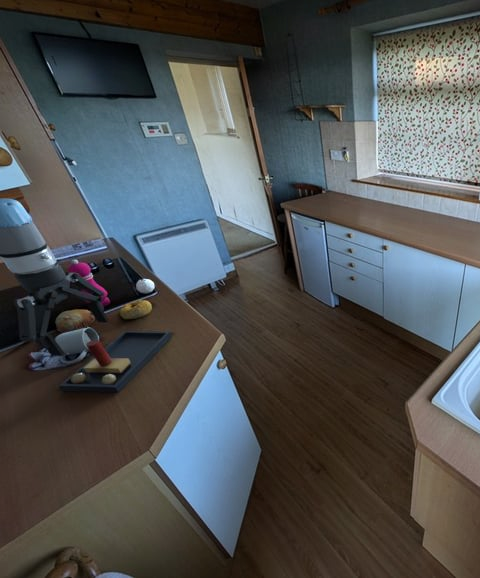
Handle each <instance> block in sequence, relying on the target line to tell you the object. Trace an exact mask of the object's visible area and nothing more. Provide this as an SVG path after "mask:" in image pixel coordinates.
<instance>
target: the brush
mask: <svg viewBox="0 0 480 578" xmlns="http://www.w3.org/2000/svg"><path fill="white" fill-rule="evenodd" d="M86 346H87V348H88V349H89V351H90V354H91V355H92V356H93V357H94V359H93V360H92V361H91V362H90V363H89V364H87V365H86V366H85V367H84V370H85V371H86V372H88V373H89V374H90V375H108V374H113V375H123V374H124V373H125V372H126V371H127V370H128V369H129V368H130V367H131V365H130V363H131V362H130V361H129V359H128V358H110V356H109V355H108V353H107V352H106V350H105V349H104V348H105V347H104V345H103V344H102V343H101V341H100V339H99V340H92V341H90V342H88V343H87V344H86Z"/></svg>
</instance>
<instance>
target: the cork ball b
mask: <svg viewBox="0 0 480 578" xmlns="http://www.w3.org/2000/svg"><path fill="white" fill-rule="evenodd" d="M115 381H116V377H115V375H113V374H108V375H105V376H104V377H103V378H102V383H103V384H104V385H111V384H113V383H114V382H115Z"/></svg>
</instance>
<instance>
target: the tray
mask: <svg viewBox="0 0 480 578" xmlns="http://www.w3.org/2000/svg"><path fill="white" fill-rule="evenodd" d="M172 338H173V336H172V334H171V332H170V331H148V330H147V331H144V330H140V331H139V330H124V331H123V332H122V333H120V334H119V335H118V336H117V337H116V338H114V339H113V340H112V341H110V343H108V344H107V345H106V346H105V347H104V349H105V350H106V352H107V353H108V355H109V356H110V358H128V359H129V361H130V362H131V363H130V365H131V367H130V368H129V369H128V370H127V371H126V372H125V373H124V374H123V375H115V377H116V381H115V382H114V383H113V384H111V385H104V384H103V383H102V378H103V377H104V376H105V375H90V374H89V373H88V372H86V371H85V370H84V367H85V366H86V365H87V364H89V363H90V362H91V361H92V360H93V359H94V356H93V357H92V358H91V359H89V360H88V361H87V362H85V363H84V364H83V365H82V366H81V367H80V368H78V369H77V370H76V371H75V372H73V373H72V374H71V375H70V376H69V377H67V378H66V379H65V380H64V381H63V382H62V383H60V384H59V387H60V389H61V390H62V391H63V392H78V393H79V392H81V393H82V392H83V393H84V392H85V393H120V392H121V391H122V390H123V389H124V388H125V386H126V385H128V383H130V381H131V380H132V379H133V378H135V376H137V374H138V373H139V372H140V371H141V370H142V369H143V368H144V367H145V366H146V365H147V363H149V362H150V360H152V359H153V358H154V356H155V355H157V353H158V352H159V351H160V350H161V349H162V348H163V347H164V346H165V345H166V344H167V343H168V342H169V340H171V339H172ZM77 373H83V374H85V375H86V380H85V381H84V382H83V383H80V384H74V383H72V381H71V378H72V376H73V375H75V374H77Z"/></svg>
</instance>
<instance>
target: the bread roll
mask: <svg viewBox="0 0 480 578" xmlns="http://www.w3.org/2000/svg"><path fill="white" fill-rule="evenodd" d="M95 320H96V318H95V317H94V315H93V314H92V312H91V310H88V309H77V308H76V309H72V310H65V311H62V312H61V313H60V314H59V315H58V316H56V319H55V321H54V323H55V326H56V329H57V332H59V333H61V334H63V333H66V332H71V331H75V330H79V329H83V328H86V327H87V328H88V327H90V326H92V325H93V323H94V322H95Z"/></svg>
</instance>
